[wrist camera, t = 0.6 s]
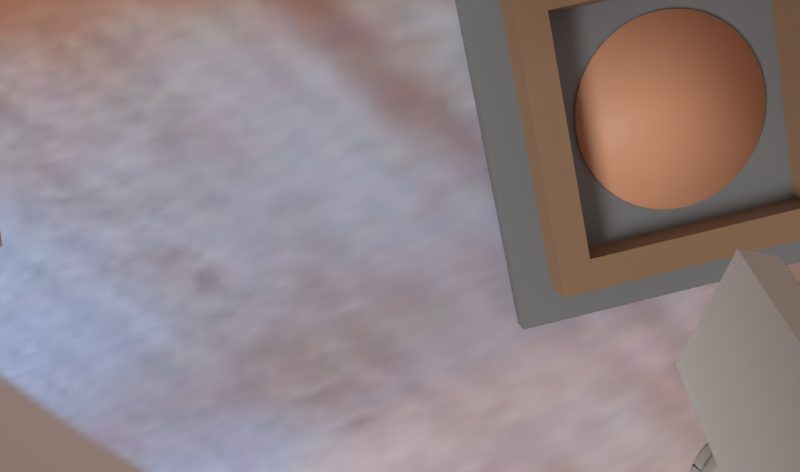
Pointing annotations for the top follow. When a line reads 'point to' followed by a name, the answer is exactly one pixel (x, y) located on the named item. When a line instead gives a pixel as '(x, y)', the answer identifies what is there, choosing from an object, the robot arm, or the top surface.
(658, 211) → the socket board
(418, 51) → the top surface
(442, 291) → the top surface
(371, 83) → the top surface
